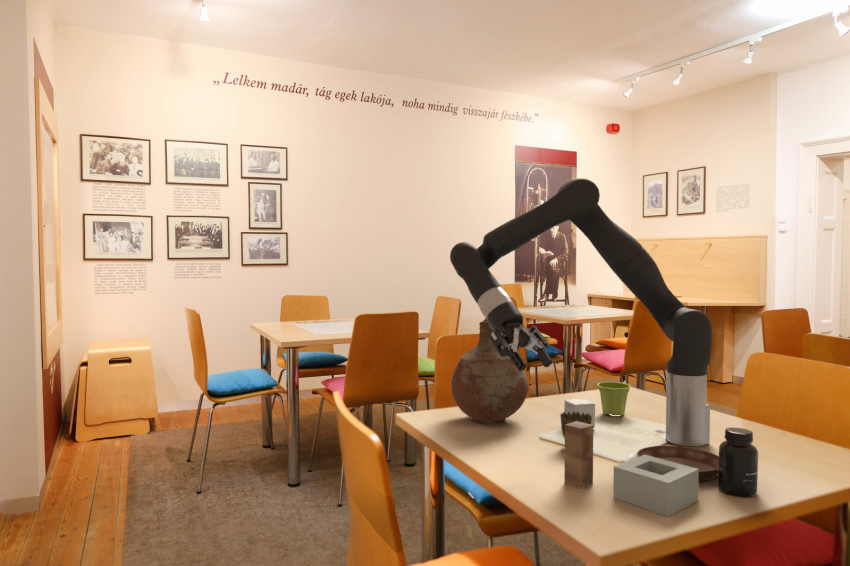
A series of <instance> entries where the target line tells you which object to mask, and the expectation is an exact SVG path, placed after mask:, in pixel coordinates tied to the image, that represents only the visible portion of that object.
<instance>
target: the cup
mask: <svg viewBox="0 0 850 566" xmlns="http://www.w3.org/2000/svg"><path fill="white" fill-rule="evenodd" d="M559 415H560V425H561V431H562V435H563V438H564V439H565V424H569V423H572V422H576V421H578V422H582V423H586V424H590V425H591V421H592V417H591V415H590V416H589V413H587V414H586V415H584V412H583V413H582V415H580V414H579V412H577V413H575V412H573V413H572V414H571V415H570V412H568V414H566V413H565V412H564V411H562V413H559Z"/></svg>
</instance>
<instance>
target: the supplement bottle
mask: <svg viewBox="0 0 850 566" xmlns="http://www.w3.org/2000/svg"><path fill="white" fill-rule="evenodd" d="M753 437H754V433H753V431H752V430H750V429H746V428H742V427H726V428H725V429H724V439H725V440H724V441H722V442H721V443H720V444H719V446H718V447H719V448H718V456H719V469H718V475H717V477H718V478H717V480H718V481H717V485H718V489H719V490H720V491H721V492H723V493H725V494H728V495H731V496H736V497H742V498H743V497H745V498H748V497H754V496H756V495H757V493H758V477H759V476H758V474H759V473H758V472H759V469H758V468H759V450H758V449H757V447H756V446H755V445H754V444H752V443H753V442H754V438H753Z"/></svg>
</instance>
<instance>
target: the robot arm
mask: <svg viewBox="0 0 850 566" xmlns="http://www.w3.org/2000/svg"><path fill="white" fill-rule="evenodd" d="M600 194H601V193H600V190H599V187H598V186H597V184H596V183H595V182H594V181H592V180H590V179H589V178H582V177H581V178H580V177H578V178H574V179H570V180H569V181H567V182H566V183H564V184H563V185H561V186H560V188H558V190H557V193H556V194H554V195H553V196H552V197H550V198H549V199H547V200H546V201H545V202H543V203H541V204H540V205H538V206H536V207H534V208H532V209H531V210H529V211H527V212H524V213H523V214H520V215H518V216H515V217H514V218H512V219H510V220H508V221H506V222H504V223H502V225H499V226H497V227H496V228H494V229H492V230H491V231H489V232H488V233H485V235H484V236H483V238H482V239H483V240H482V243H481V245H479V247H477V248H476V246H475V245H474V244H472V243H470V242H466V241H463V242H459V243H455V245H454V246H453V247H452V248H451V250H450V254H449V259H450V263H451V265H452V267H453V268H454V270H455V273H456V274H457V275H458V277H460V278H461V279H462V280H463V281H464V283H465V284H466V286H467V289H468V292H469V293H470V295H471V297H472V298H473V300H474V301H475V303H476V304H477V306H478V308H479V310H480V312H481V314H482V315H483V317H484V319H486V320H487V322H488V323H489V325H490V326H491V328H492V330H493V333H492V334H491V335H490V339H491V340H492V342H493V344H494V346H495V347H496V349H497V351H498V353H499V354H500V356H502V357H504V356H507V357H508V358H510V359H511V360H512V362H513V363H514V365H515V366H516V368H517V369H518V370H519V371H523V370H524V371H525V369H526V368H527V366H528V365H527V363H526V361H525V359H524V358H523V355H521V353H520V352H519V351H518V352H517V348H519V349H520V348H522V349H523V348H524V349H526V351H532V352H533V353H535V354H536V356H537V358H538V359H539V361H540V362H541V364H542V365H543V367H544V368H549V367H550V366H551V365H552V364H553V359H552V358H551V356H550V354H549V352H547V351H546V349H547V347H549V345H550V343H549V342H548V341H547V339H546V338H545V337H544V336H543V333H541V331H540V330H539V329H538V327H537V326H535V325H532V326H531V327H530V328H528V327H527V326H526V325H524V316H523V315H522V313H521V311H520V310H519V309H518V307H517V306H516V304H515V303H514V301H513V300H512V299H511V297H510V296H509V294H508V293H507V292H506V290H504V288H503V287H502V285H501V284H500V282H499V281H498V279H497V278H496V277H495V276H494V275H493V274H492V272H491V271H490V269H491V267H493V266H494V265H495V264H496V263H497V262H498V261H499V260H500V259H501V258H503V257H506V255H509V254H510V253H512V252H514V251H515V250H518V249H519V248H520V247H522V246H524V245H526V244H528V243H529V242H530V241H532V240H534V239H536V237H538V236H541V235H542V234H543V233H545V232H547V231H548V230H551V229H552V228H554V227H556V226H558V225H560V224H562V223H564V222H567V221H570V222H571V223H572V224H574V226H575V227H576V228H577V229H579V231H581V233H583V235H584V236H585V237H586V239H588V240H589V242H590V243H591V245H592V246H593V247H594V249H595V250H596V252H598V254H599V255H600V257H602V259H603V260H604V262H605V263H606V264H607V266H608V267H609V268H610V269H611V270H612V272H613V273H614V274H615V275H616V276H617V277H618V279H619V280H620V281H621V282H622V283H623V284H624V285H625V286H626V287H627V289H628V290H629V291H630V292H631V293H632V295H634V296H635V297H636V298H637V299H638V300H639V302H640V303H642V305H644V306H645V308H646V310H647V311H649V313H650V315H651V316H652V317H653V319H654V320H655V322H656V323H657V325H658V327H659V328H660V330H661V331H662V332H663V334H664V335H665V336H666V337H667V339H669V340H670V341H671V342H672V353H671V354H672V355H671V357H670V358H669V359H668V360H667V361H666V377H665V378H666V379H665V381H666V384H665V385H666V387H665V388H666V389H665V391H666V393H665V440H666V439H668V440H669V441H670V442H669V443H670V444H673V445H676V446H681V447H702V446H705V445H708V444H709V445H710V443H711V440H710V437H711V436H710V435H711V433H710V432H711V406H710V404H707V400H708V399H707V396H708V395H707V392H708V390H707V388H708V386H707V385H708V384H707V383H708V382H707V381H708V377H707V376H708V367H709V365H710V363H711V357H712V341H713V332H712V331H713V329H712V324H711V321H710V318H709V316H707V315H706V314H705V313H704V312H702V311H701V310H698V309H697V310H696V309H693V308H688V307H687V306H686V305H685V304H683V303H682V301H680V299H678V297H676V296H675V294H674V293H673V292H672V291H671V290H670V289H669V287H668V285H667V284H666V282H665V279H664V277H663V275H662V273H661V271H660V269H659V266H658V264H657V263H656V261H655V260H654V259H653V257H652V256H651V255H650V254H649V252H648V251H647V250H646V249H645V247H643V245H642V244H641V243H640V242H639V241H638V240H637V239H636V238H635V237H633V236H632V235H631V234H630V233H629V232H628V231H626V230H624V228H622V227H620V226H619V225H618V224H617V223H615V222H614V221H613V220H612V219H611V218H610V217H609V216H608V215H607V214H606V212H604V210H603V208H602V207H601V206H600V205H599V202H600V196H601V195H600ZM540 341H541V342H540ZM501 346H502V347H504V348H503V349H502V348H501Z"/></svg>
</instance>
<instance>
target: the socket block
mask: <svg viewBox="0 0 850 566" xmlns="http://www.w3.org/2000/svg"><path fill="white" fill-rule="evenodd" d="M698 480H699V469H697V468H693V467H689V466H685V465H682V464H678V463H674V462H671V461H667V460H663V459H660V458H656V457H652V456H648V455H642V456H640V457H638V456H637V457H635V458H631V459H629V460H627V461H625V462H622V463H620V464H617V465H614V466H613V485H612V487H613V490H612V491H613V492H612V493H613V496H612V497H613V498H614V499H615V500H619V501H622V502H625V503H629V504H631V505H634V506H636V507H640V508H643V509H646V510H648V511H650V512H651V511H652V512H655V513H657V514H659V515H663V516H664V517H665V516H666V517H670V516H672V515H674V514H676V513H677V512H680V511H681V510H684V509H685V508H687V507H689V506H691V505H693V504H694V503H696V502H698V501H699V481H698Z"/></svg>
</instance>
